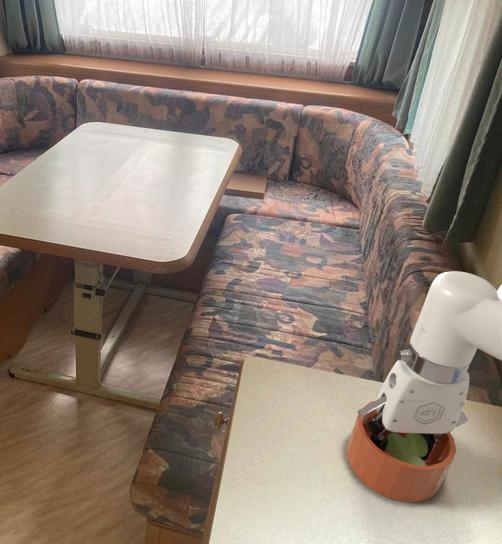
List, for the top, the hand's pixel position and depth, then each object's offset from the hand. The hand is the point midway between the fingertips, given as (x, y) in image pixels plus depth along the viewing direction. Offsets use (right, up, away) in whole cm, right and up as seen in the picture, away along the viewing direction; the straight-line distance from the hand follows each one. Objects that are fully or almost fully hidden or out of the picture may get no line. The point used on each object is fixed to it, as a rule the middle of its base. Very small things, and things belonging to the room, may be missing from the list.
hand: (397, 451), depth 86 cm
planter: (0, -2, +2) cm, 3 cm away
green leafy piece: (+1, -2, +1) cm, 3 cm away
